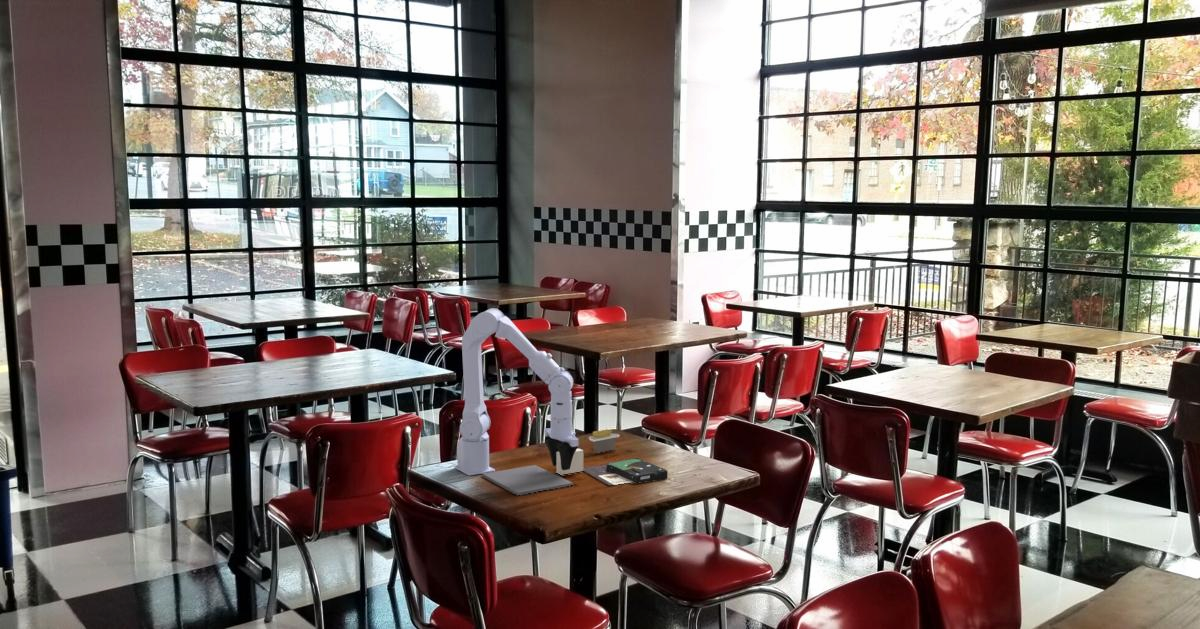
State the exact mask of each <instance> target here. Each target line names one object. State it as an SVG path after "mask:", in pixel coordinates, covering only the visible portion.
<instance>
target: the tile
mask: <svg viewBox="0 0 1200 629" xmlns="http://www.w3.org/2000/svg"><path fill="white" fill-rule="evenodd" d="M583 467H584V450H583V449H581V448H577V449H576V451H575V453H574V456H573V459H572V462H571V466H570V469H568V470H562V468H561V459H560V454H559V452H556V466H555V468H556V471H555V474H556V473H558V474H560V475H562V476H564V475H563V474H568V473H574V472H580V471H583ZM580 473H581V472H580ZM558 474H557V475H558ZM574 474H575V473H574ZM560 475H559V476H560ZM568 475H569V474H568Z"/></svg>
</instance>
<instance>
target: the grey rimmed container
mask: <svg viewBox="0 0 1200 629" xmlns="http://www.w3.org/2000/svg"><path fill="white" fill-rule="evenodd" d="M619 437H620V434H619V433H612V429H610V430H608V428H606V429H601V430H596V431H592V435H591V436H588V439H589V441H591V442H593V454H594V453H598V452H603V451H608V452H610V451H609V450H613V451H616V438H619ZM603 453H604V452H603ZM598 454H599V453H598Z"/></svg>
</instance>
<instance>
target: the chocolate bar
mask: <svg viewBox="0 0 1200 629" xmlns="http://www.w3.org/2000/svg"><path fill="white" fill-rule="evenodd" d="M606 465H608V463H606V464H599V465H592V466H583V471H584V472H586V473H588V474H589V475H591V476H593V477H594V478H593V477H592V478H593V479H595V478H596V479H598V480H600V481H601V482H600V481H599V482H600V483H602V482H603V483H605V484H607V485H608V486H607V485H606V486H607V487H609V486H611V487H613V486H612V485H618V484H624V483H631V482H633V481H631V480H629V479H626V478H624V477H622V476H620V475H618V474H615V473H613V472H611V471H609V470H607V469H606ZM584 472H583V473H584ZM586 473H585V474H586ZM588 474H587V475H588ZM589 475H588V476H589ZM591 476H590V477H591ZM596 479H595V480H596ZM598 480H597V481H598ZM603 483H602V484H603ZM605 484H604V485H605ZM631 484H632V483H631ZM624 485H625V484H624ZM618 486H619V485H618Z"/></svg>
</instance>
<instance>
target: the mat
mask: <svg viewBox="0 0 1200 629" xmlns="http://www.w3.org/2000/svg"><path fill="white" fill-rule="evenodd" d="M482 478H484V479H486V480H488V481H489V482H491V483H493V484H495V485H497V486H498V487H500V488H503V489H504V490H506V491H508V492H510V493H512V494H514V495H515V494H516V496H517V497H519V496H518V495H520V496H525V495H529V494H528V493H531V494H534V492H536V493H539V492H538V491H542V492H544V491H543V490H547V491H550V490H549V489H553V490H556V489H555V488H558V489H561V488H560V487H564V488H567V487H566V486H569V487H572V486H571V485H573V486H574V482H572V481H570V480H568V479H566V478H563V477H562V476H560V475H558V474H556V473H553V472H551V471H549V470H547V469H544V468H542V467H540V466H538V465H536V464H533V465H526V466H521V467H520V466H519V467H514V468H510V469H509V468H508V469H503V470H502V469H501V470H495V471H494V472H488V473H482ZM524 494H525V495H524Z"/></svg>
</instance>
